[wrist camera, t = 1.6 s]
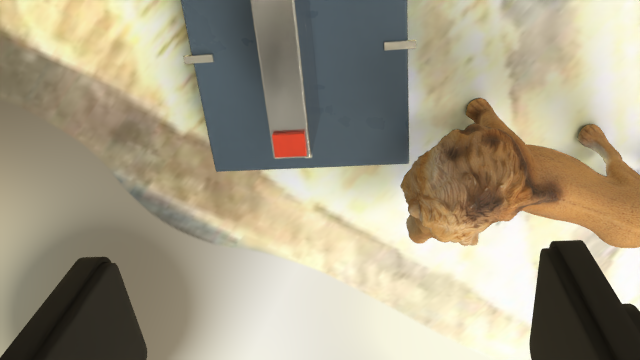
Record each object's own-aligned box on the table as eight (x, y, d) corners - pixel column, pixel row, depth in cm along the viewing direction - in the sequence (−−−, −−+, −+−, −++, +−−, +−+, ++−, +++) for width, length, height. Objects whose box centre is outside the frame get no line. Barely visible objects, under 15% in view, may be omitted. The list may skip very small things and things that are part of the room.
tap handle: (270, -22, 23) (247, -4, 18) (307, -26, 22) (292, -8, 18) (288, 119, 26) (272, 162, 21) (320, 117, 25) (310, 160, 21)
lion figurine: (387, 173, 30) (393, 272, 22) (404, 84, 27) (417, 159, 19) (647, 207, 29) (748, 320, 22) (689, 119, 27) (821, 211, 19)
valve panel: (178, -85, 24) (153, -83, 22) (410, -109, 23) (415, -110, 20) (223, 148, 30) (208, 174, 27) (412, 139, 29) (416, 165, 26)
